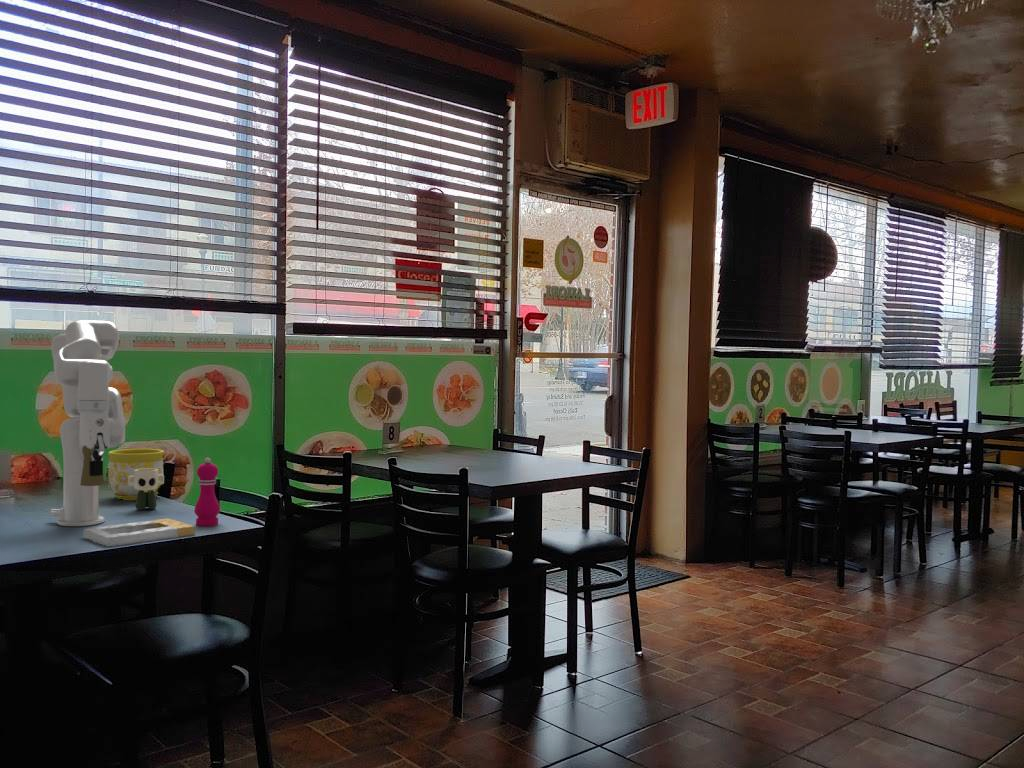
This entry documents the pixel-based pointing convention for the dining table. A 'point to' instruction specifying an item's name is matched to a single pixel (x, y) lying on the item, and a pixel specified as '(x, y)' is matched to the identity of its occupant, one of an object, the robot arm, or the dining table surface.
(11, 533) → the dining table surface
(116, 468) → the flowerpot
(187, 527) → the white and tan tray
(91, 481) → the brown shaker
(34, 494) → the dining table surface
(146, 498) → the character mug
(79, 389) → the robot arm
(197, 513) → the pepper mill
